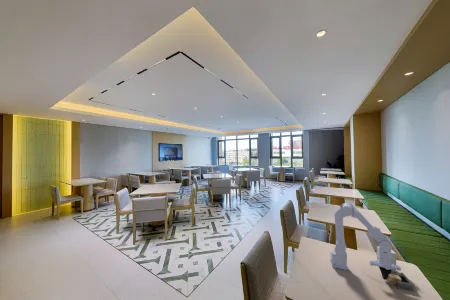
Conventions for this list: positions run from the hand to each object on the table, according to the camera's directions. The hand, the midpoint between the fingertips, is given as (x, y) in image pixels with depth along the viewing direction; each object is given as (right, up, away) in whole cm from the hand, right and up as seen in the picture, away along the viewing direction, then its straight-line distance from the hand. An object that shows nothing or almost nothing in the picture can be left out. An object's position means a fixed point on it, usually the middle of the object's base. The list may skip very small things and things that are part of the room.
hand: (384, 278), depth 108 cm
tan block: (+4, -1, -1) cm, 5 cm away
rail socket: (+8, -1, -2) cm, 8 cm away
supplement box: (+11, -1, +11) cm, 15 cm away
